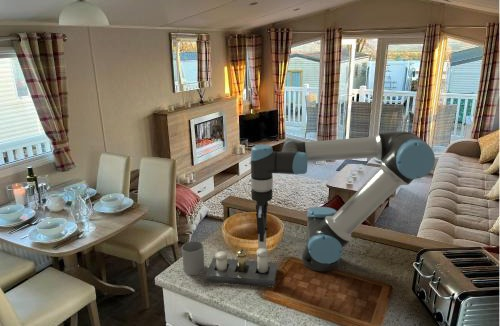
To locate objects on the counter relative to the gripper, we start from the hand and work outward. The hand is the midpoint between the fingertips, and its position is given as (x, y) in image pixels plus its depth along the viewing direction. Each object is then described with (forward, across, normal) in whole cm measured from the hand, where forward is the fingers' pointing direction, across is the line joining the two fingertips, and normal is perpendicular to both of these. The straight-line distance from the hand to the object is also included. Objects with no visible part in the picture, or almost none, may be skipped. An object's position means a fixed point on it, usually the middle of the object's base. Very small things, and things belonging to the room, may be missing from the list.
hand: (262, 247), depth 138 cm
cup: (+13, -2, -28) cm, 31 cm away
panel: (+13, 0, -8) cm, 15 cm away
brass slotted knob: (+10, 0, -8) cm, 12 cm away
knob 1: (+12, 0, -16) cm, 20 cm away
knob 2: (+10, 0, 0) cm, 10 cm away
